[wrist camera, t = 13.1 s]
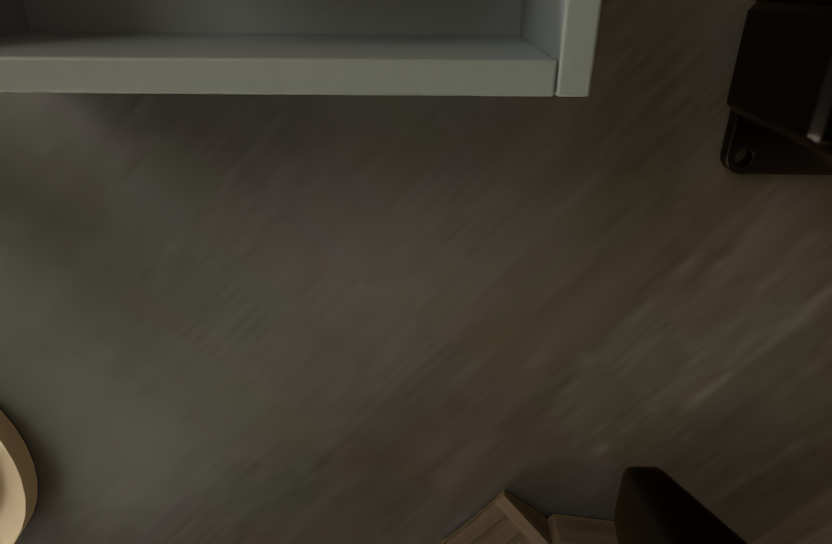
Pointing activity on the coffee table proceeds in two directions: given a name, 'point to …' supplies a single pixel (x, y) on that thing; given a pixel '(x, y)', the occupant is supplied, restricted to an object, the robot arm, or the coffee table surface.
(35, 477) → the monster figurine
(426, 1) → the bin
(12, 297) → the coffee table surface
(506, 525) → the model
